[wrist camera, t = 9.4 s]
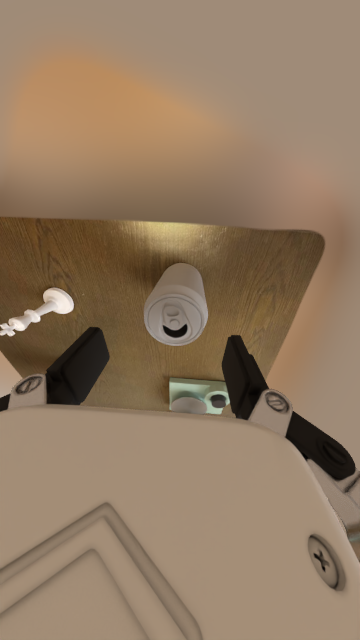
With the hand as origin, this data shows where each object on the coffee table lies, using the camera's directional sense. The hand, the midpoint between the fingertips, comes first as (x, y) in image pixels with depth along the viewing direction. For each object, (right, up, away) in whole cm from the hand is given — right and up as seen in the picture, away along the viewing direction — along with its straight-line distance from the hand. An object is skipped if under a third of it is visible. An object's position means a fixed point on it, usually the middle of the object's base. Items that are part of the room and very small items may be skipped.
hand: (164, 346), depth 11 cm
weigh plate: (+3, -20, +26) cm, 33 cm away
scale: (+6, -17, +28) cm, 34 cm away
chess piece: (-21, +6, +16) cm, 27 cm away
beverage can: (+1, +8, +13) cm, 15 cm away
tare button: (+10, -16, +24) cm, 30 cm away
